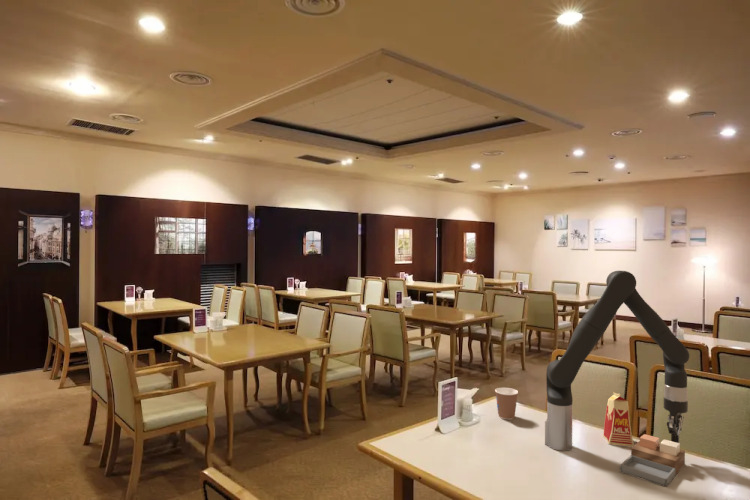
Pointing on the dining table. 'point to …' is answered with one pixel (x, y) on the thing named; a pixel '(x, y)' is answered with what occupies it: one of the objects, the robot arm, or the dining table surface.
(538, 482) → the dining table surface
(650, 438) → the salmon square block
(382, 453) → the dining table surface
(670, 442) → the tile cream
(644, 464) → the tray
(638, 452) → the bronze square platform
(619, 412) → the milk carton
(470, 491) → the dining table surface
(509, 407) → the coffee cup
